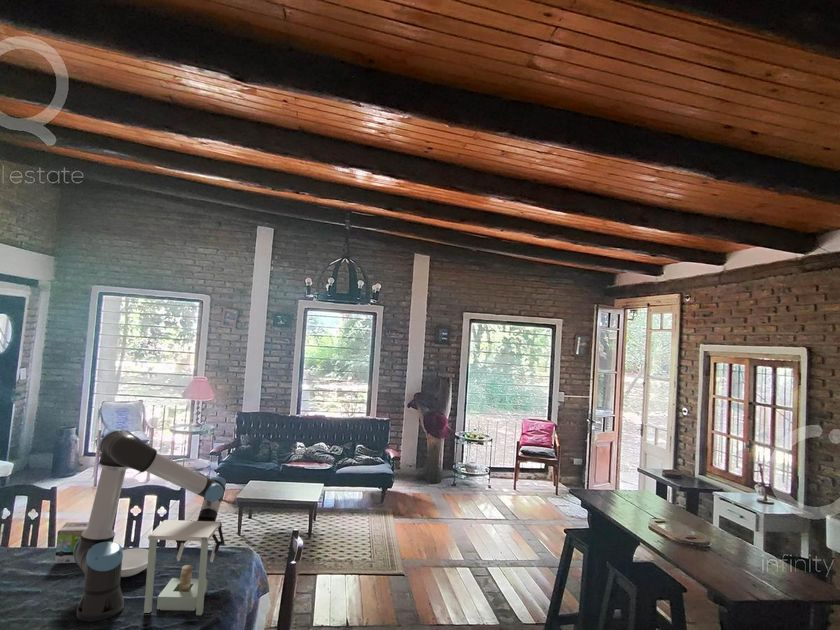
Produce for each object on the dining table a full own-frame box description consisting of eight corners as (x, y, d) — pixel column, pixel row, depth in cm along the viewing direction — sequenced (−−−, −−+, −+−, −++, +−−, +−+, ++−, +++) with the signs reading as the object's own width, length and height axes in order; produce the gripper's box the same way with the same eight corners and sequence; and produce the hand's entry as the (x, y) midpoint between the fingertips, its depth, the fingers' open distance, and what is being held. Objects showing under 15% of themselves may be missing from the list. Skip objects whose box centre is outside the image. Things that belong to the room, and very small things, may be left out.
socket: (142, 614, 192) (148, 535, 193) (161, 590, 209) (166, 517, 210) (202, 615, 194) (208, 537, 195) (216, 591, 211) (221, 519, 212)
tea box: (54, 564, 223) (56, 530, 223) (63, 554, 233) (66, 521, 233) (92, 562, 227) (95, 529, 227) (100, 552, 237) (103, 520, 237)
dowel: (175, 599, 201) (180, 570, 201) (179, 593, 205) (183, 564, 205) (186, 600, 201) (191, 570, 201) (189, 594, 205) (194, 565, 205)
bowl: (163, 565, 229) (164, 551, 229) (134, 587, 210) (135, 572, 210) (122, 560, 231) (123, 546, 231) (89, 582, 212) (90, 566, 212)
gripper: (238, 516, 234) (226, 565, 219) (182, 513, 232) (165, 562, 216) (236, 508, 229) (223, 558, 213) (178, 506, 226) (161, 556, 211)
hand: (194, 560), depth 215 cm, fingers open, 13 cm apart
